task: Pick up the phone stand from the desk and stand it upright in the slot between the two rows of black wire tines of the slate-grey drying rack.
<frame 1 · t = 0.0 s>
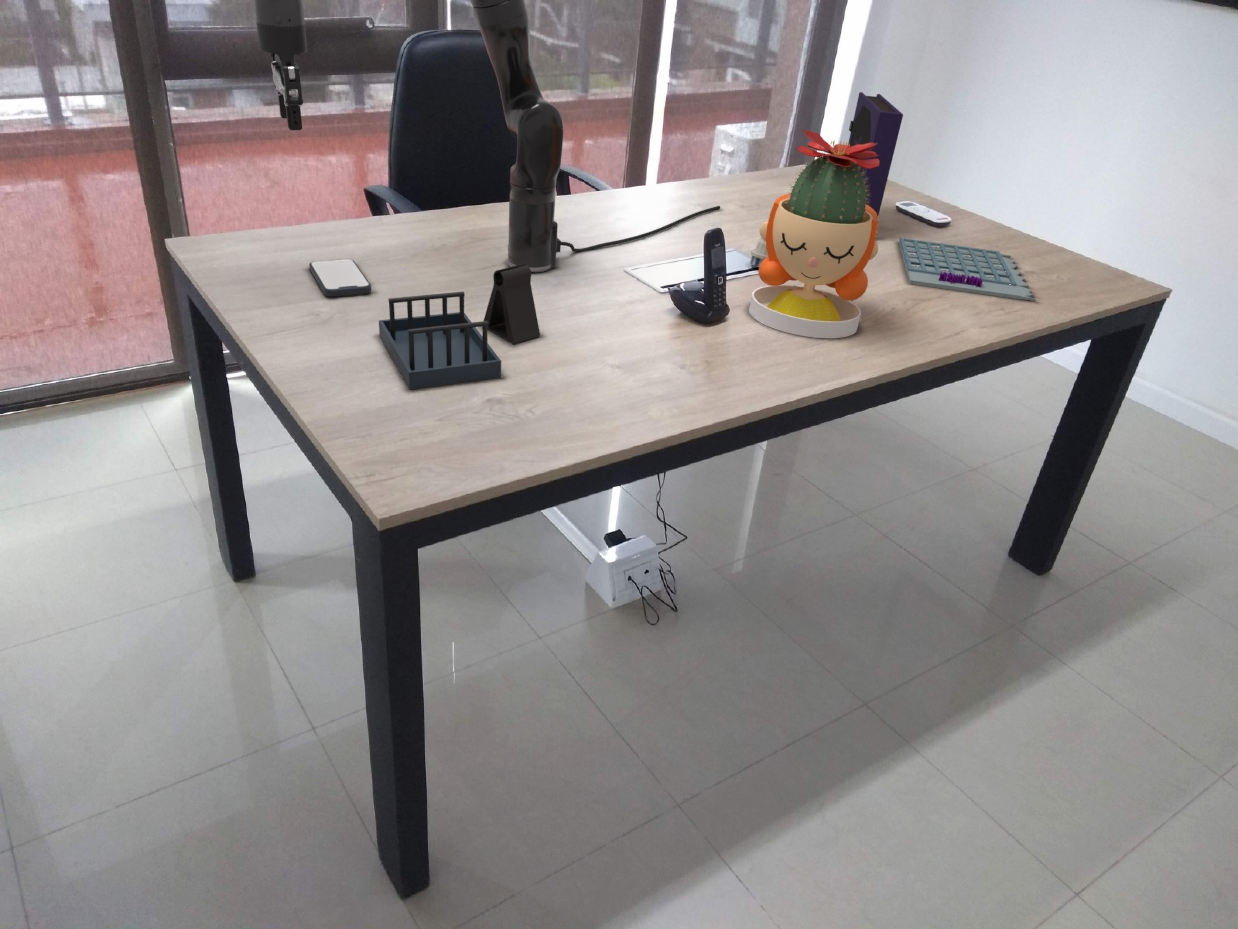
hand: (291, 123, 157), 29 cm above the table, tool pointing down, fingers open, 8 cm apart
book: (851, 225, 235), on the table
phone stand: (511, 332, 163), on the table
drying rack: (438, 356, 152), on the table
calendar: (962, 271, 212), on the table
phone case: (340, 281, 175), on the table
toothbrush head: (791, 260, 208), on the table
potted cactus: (802, 315, 182), on the table
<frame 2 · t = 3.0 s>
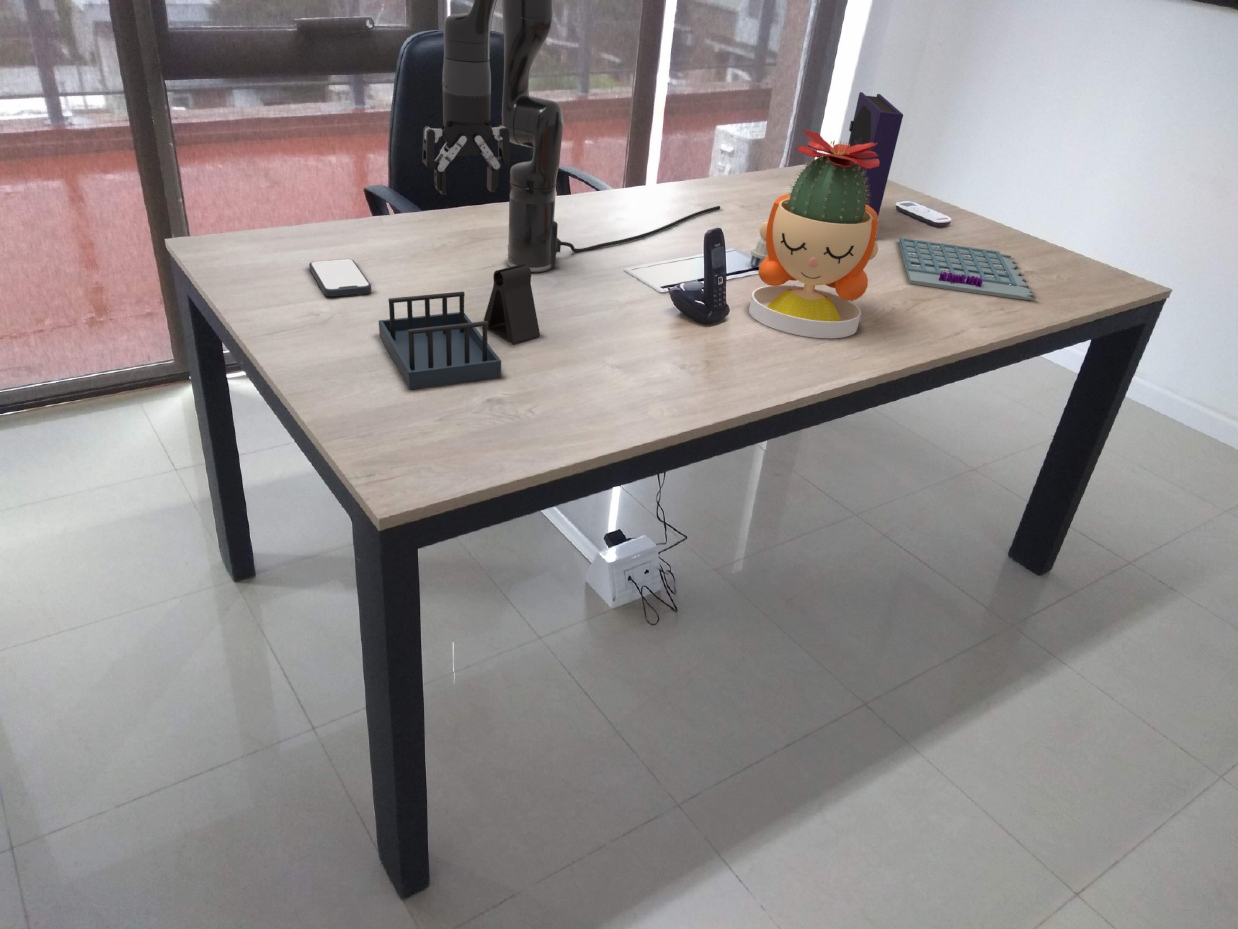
hand: (467, 191, 152), 24 cm above the table, tool pointing down, fingers open, 8 cm apart
nothing on the table moved.
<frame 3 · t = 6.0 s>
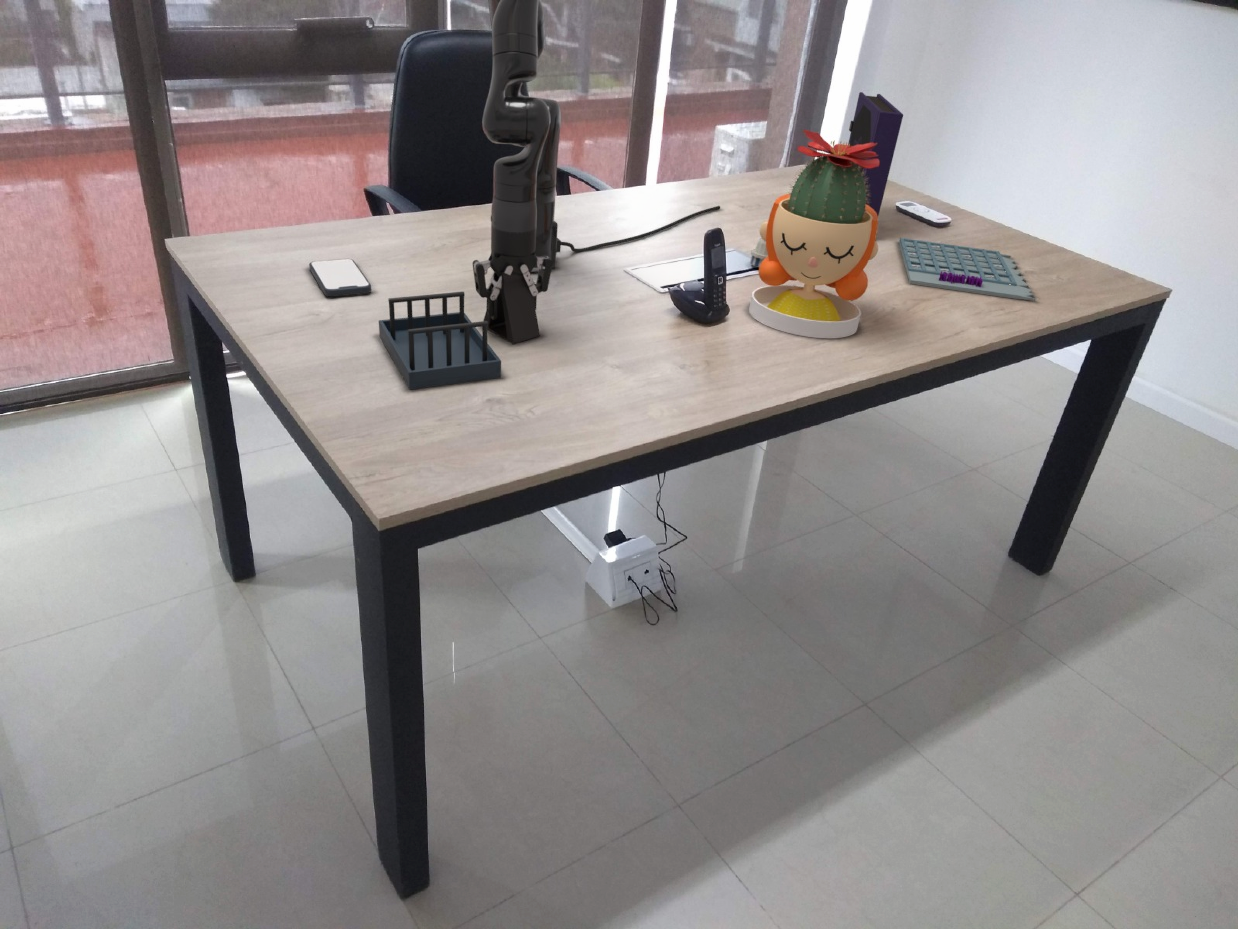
hand: (511, 315, 161), 3 cm above the table, tool pointing down, fingers closed on phone stand, 6 cm apart
phone stand: (510, 332, 163), on the table, touching gripper
everything else where it was.
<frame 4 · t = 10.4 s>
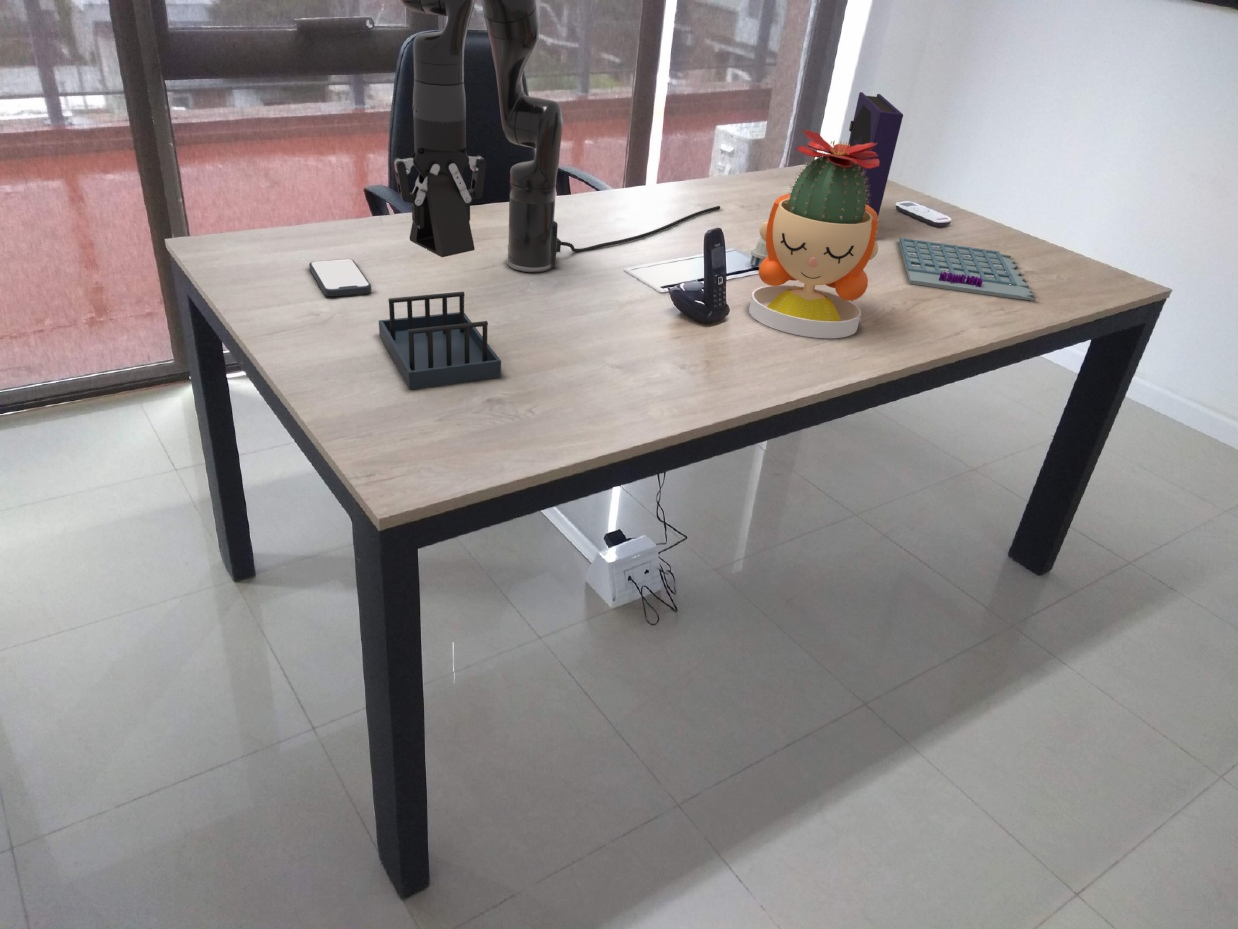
hand: (441, 225, 141), 22 cm above the table, tool pointing down, fingers closed on phone stand, 6 cm apart
phone stand: (441, 246, 143), point 19 cm above the table, touching gripper
everything else where it was.
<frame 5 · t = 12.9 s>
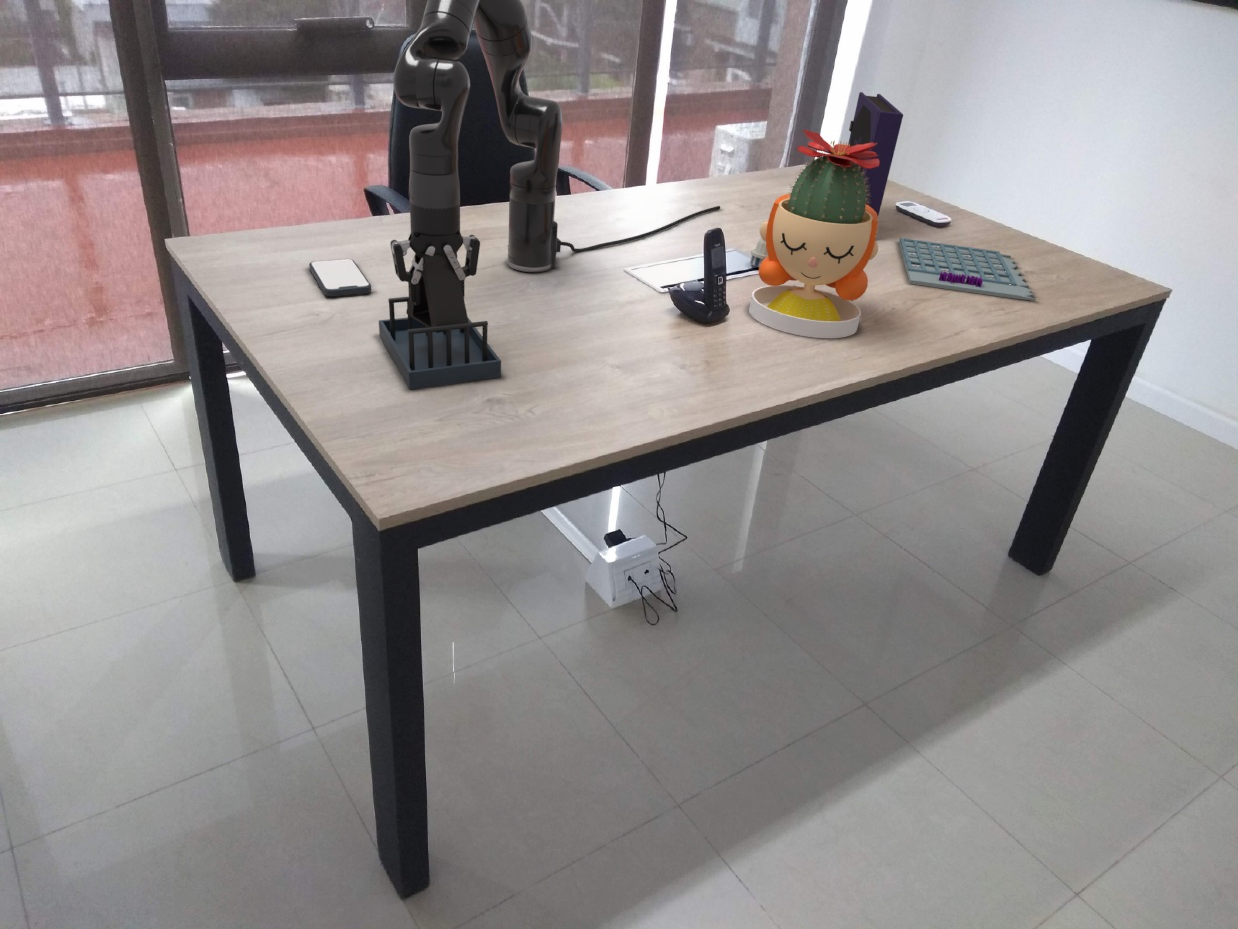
hand: (437, 301, 147), 10 cm above the table, tool pointing down, fingers closed on phone stand, 6 cm apart
phone stand: (437, 320, 149), point 6 cm above the table, touching gripper
everything else where it was.
when the fingers open (4 cm above the table, at t = 14.9 s): phone stand stays where it is, resting on drying rack.
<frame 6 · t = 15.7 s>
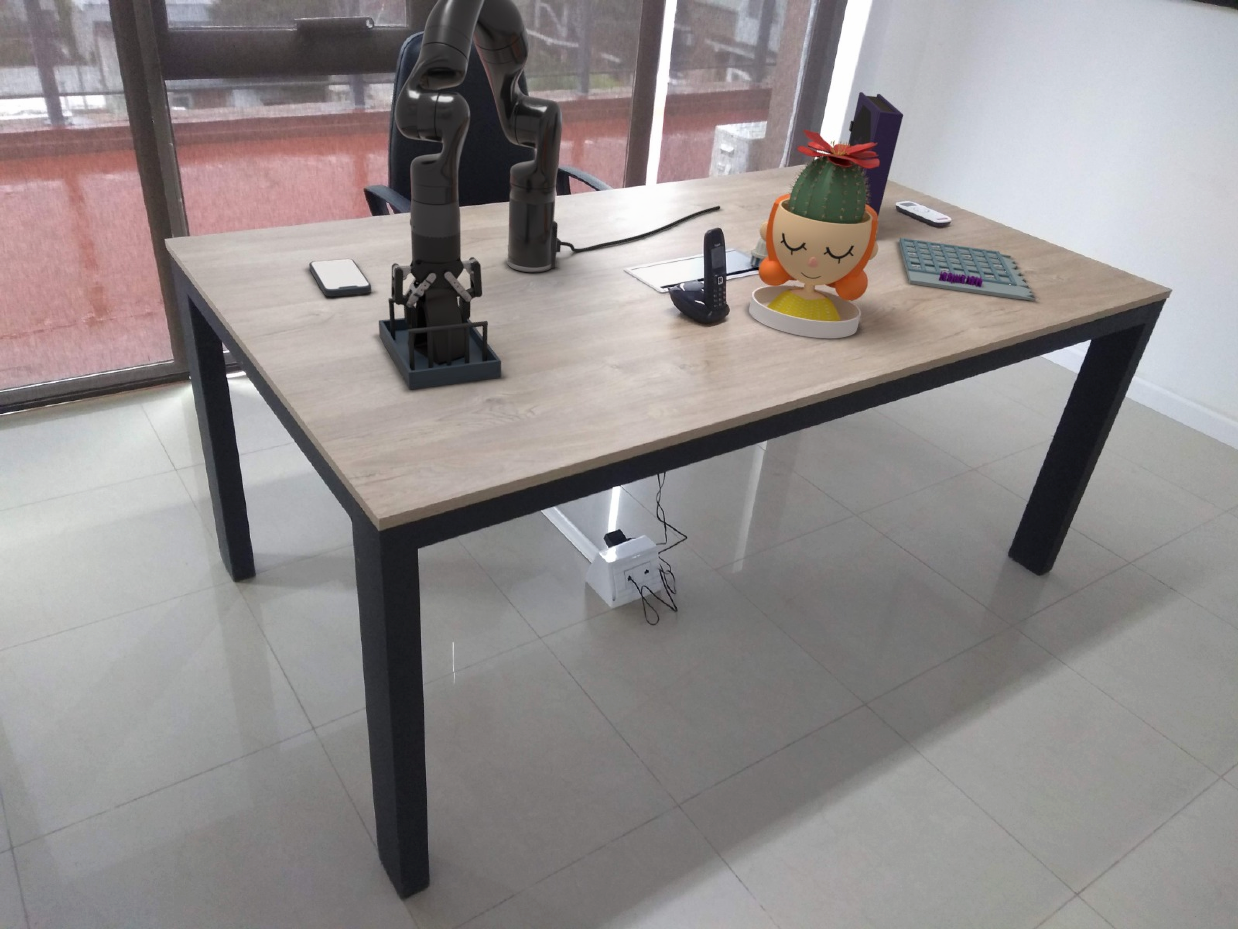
hand: (438, 323, 149), 6 cm above the table, tool pointing down, fingers open, 8 cm apart
phone stand: (438, 351, 152), point 1 cm above the table, touching drying rack
everything else where it was.
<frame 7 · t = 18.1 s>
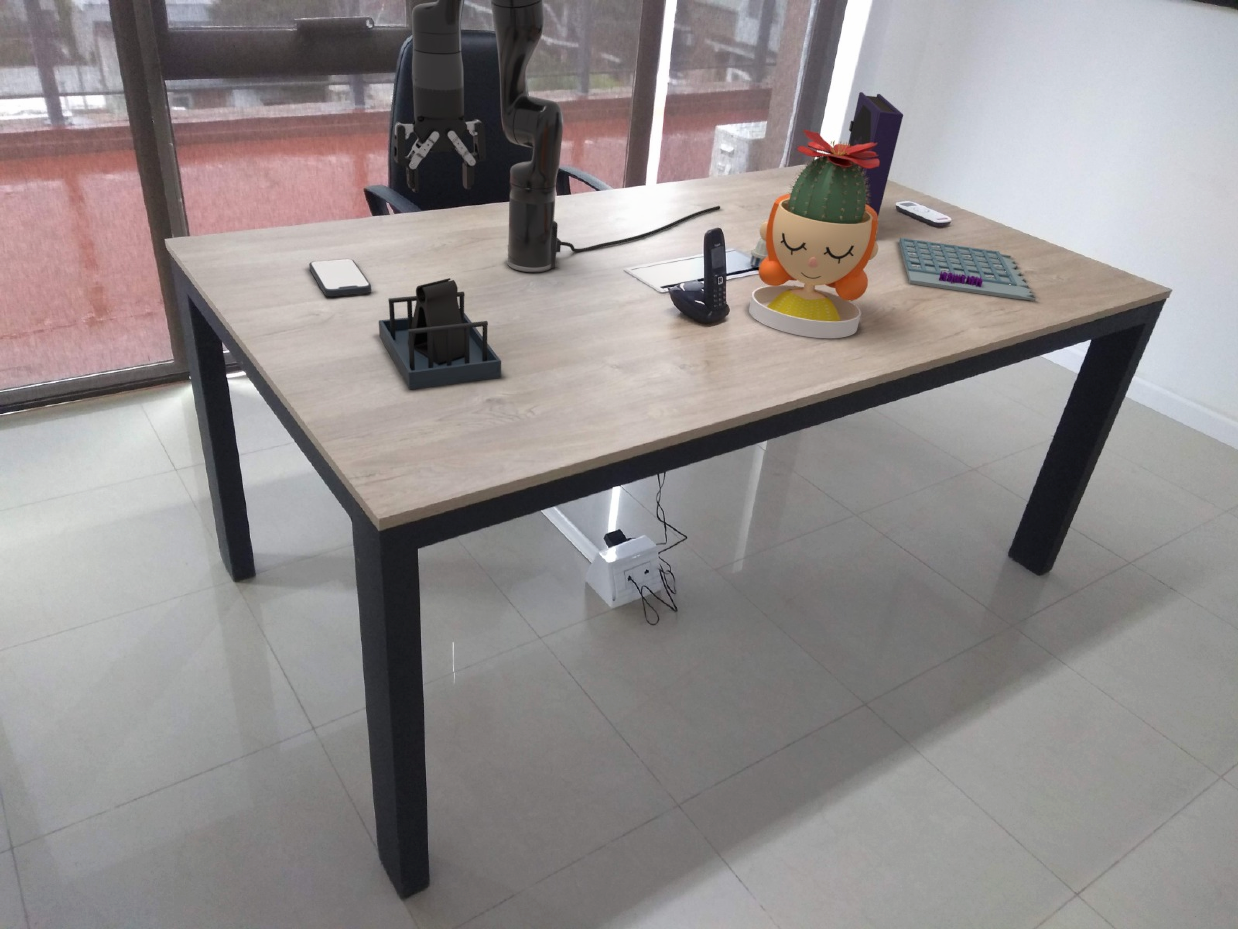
hand: (441, 189, 146), 25 cm above the table, tool pointing down, fingers open, 8 cm apart
nothing on the table moved.
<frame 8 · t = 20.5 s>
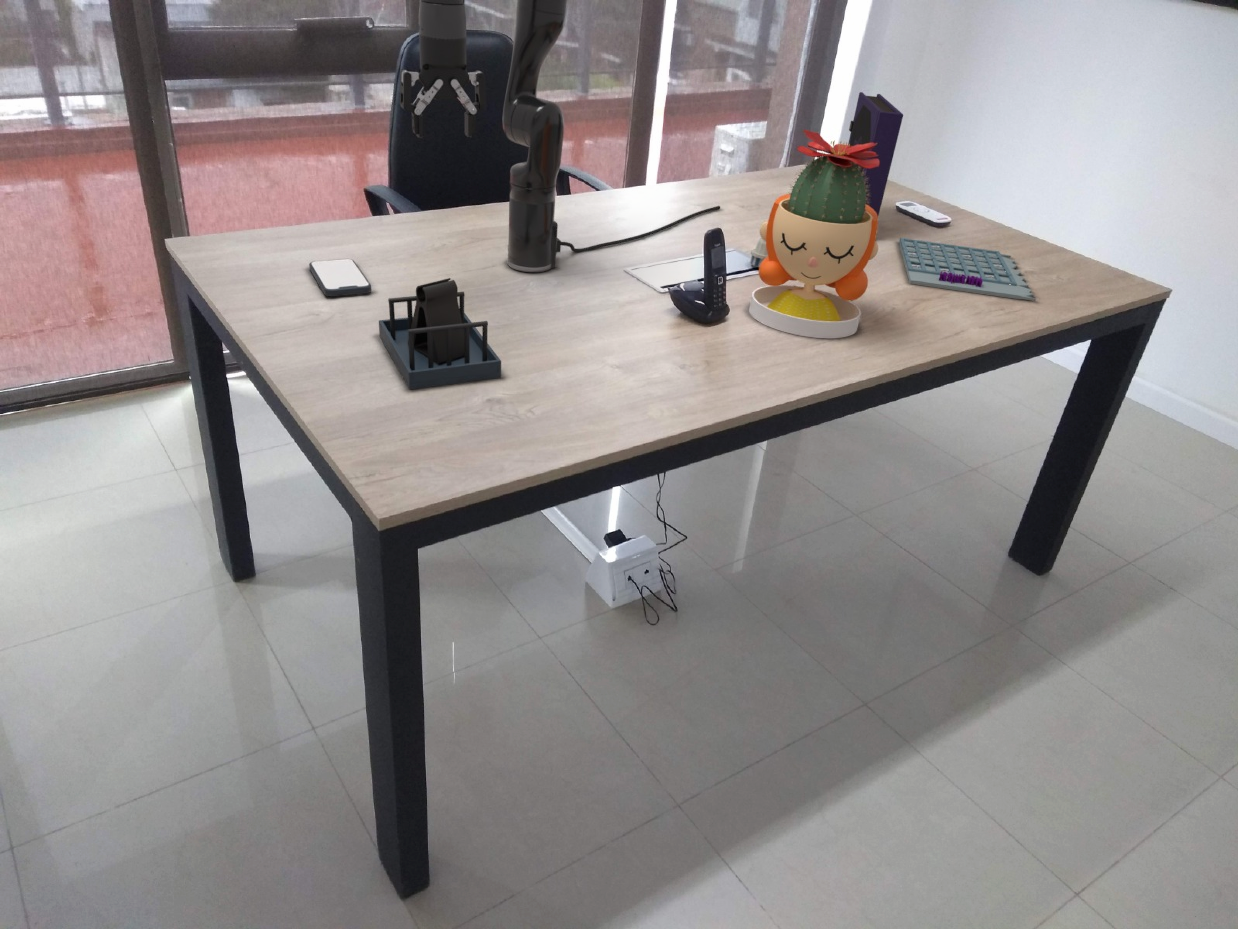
hand: (444, 136, 156), 30 cm above the table, tool pointing down, fingers open, 8 cm apart
nothing on the table moved.
at the end: phone stand inside the target area on the drying rack (0.1 cm from its centre), point 0.8 cm above the drying rack's base; phone stand tilted 0°; the gripper is holding nothing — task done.
